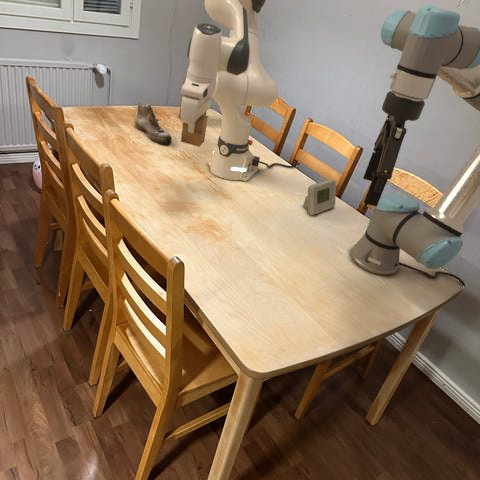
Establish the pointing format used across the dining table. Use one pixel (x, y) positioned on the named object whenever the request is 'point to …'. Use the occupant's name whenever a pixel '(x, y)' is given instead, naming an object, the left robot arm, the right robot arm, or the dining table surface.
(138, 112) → the shoe
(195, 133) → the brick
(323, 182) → the digital clock
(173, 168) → the dining table surface
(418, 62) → the right robot arm
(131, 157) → the dining table surface
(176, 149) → the dining table surface
